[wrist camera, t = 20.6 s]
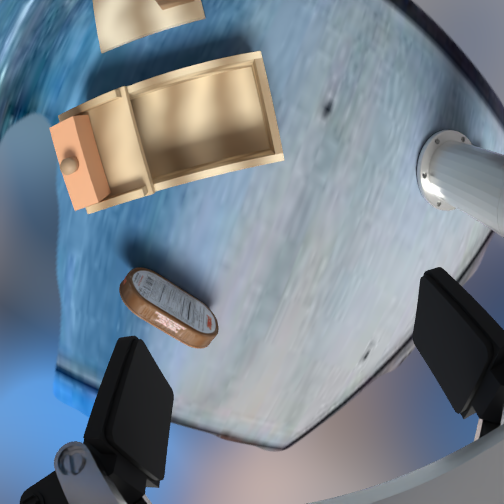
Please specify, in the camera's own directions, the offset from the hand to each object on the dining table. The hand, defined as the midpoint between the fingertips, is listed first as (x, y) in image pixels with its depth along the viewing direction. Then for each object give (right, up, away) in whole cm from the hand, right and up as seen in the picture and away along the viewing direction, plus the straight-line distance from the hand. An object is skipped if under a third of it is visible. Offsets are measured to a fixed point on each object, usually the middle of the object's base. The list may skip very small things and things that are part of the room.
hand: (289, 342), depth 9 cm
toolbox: (-10, +18, +24) cm, 32 cm away
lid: (-15, +35, +17) cm, 41 cm away
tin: (-12, -3, +35) cm, 37 cm away
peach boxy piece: (-19, +13, +18) cm, 29 cm away
